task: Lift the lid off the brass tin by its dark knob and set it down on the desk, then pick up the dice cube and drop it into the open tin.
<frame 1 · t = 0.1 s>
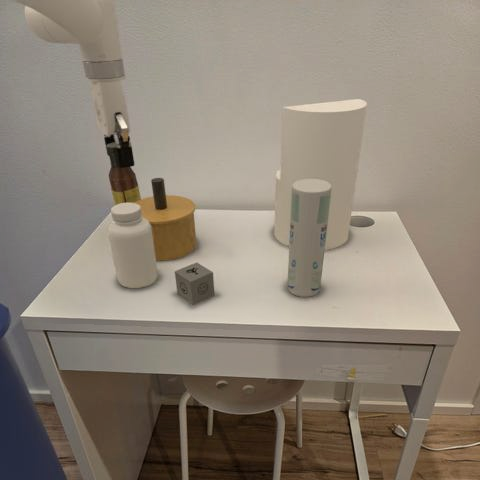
hand: (120, 160, 95), 17 cm above the table, tool pointing down, fingers open, 9 cm apart
dice cube: (195, 295, 82), on the table
cylinder: (310, 234, 103), on the table
spray can: (303, 289, 84), on the table
pill bottle: (138, 279, 87), on the table
tin lid: (161, 210, 94), point 8 cm above the table, touching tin
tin: (166, 245, 99), on the table
sauce bottle: (132, 229, 107), on the table, touching gripper
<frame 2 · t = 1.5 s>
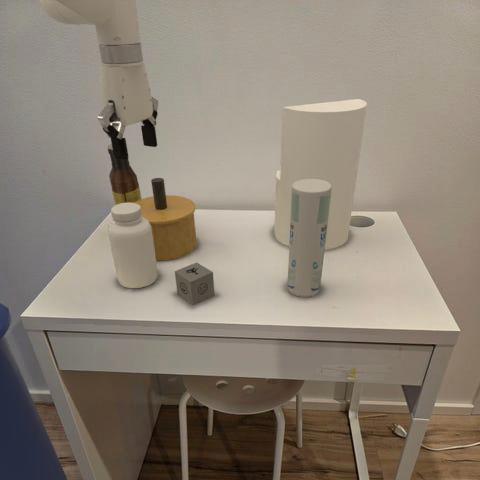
hand: (136, 152, 90), 20 cm above the table, tool pointing down, fingers open, 9 cm apart
sauce bottle: (132, 227, 107), on the table
everything else where it was.
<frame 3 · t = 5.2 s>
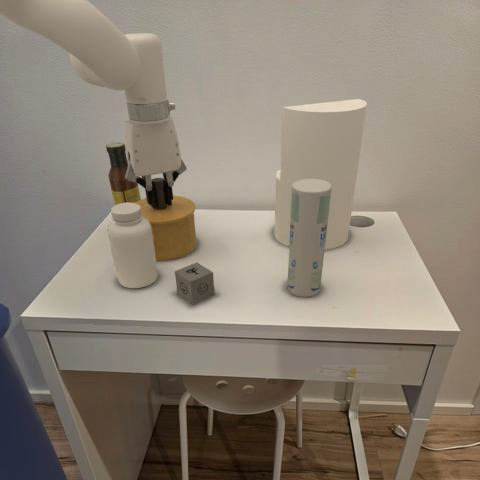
hand: (160, 204, 93), 10 cm above the table, tool pointing down, fingers closed on tin lid, 2 cm apart
tin lid: (161, 210, 94), point 9 cm above the table, touching gripper, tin
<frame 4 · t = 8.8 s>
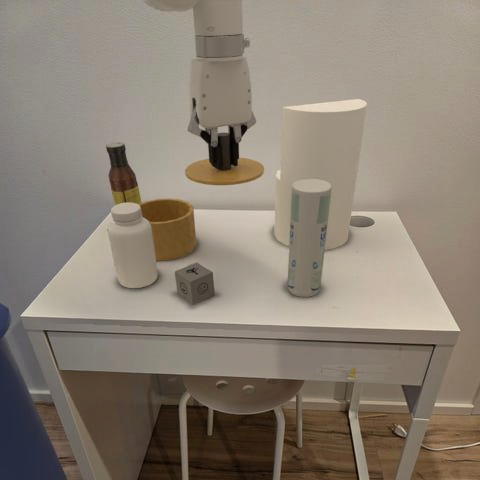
hand: (224, 164, 80), 20 cm above the table, tool pointing down, fingers closed on tin lid, 2 cm apart
tin lid: (224, 171, 81), point 19 cm above the table, touching gripper
when the fingers open (2 cm above the table, at t = 12.9 s): tin lid stays where it is, point 1 cm above the table.
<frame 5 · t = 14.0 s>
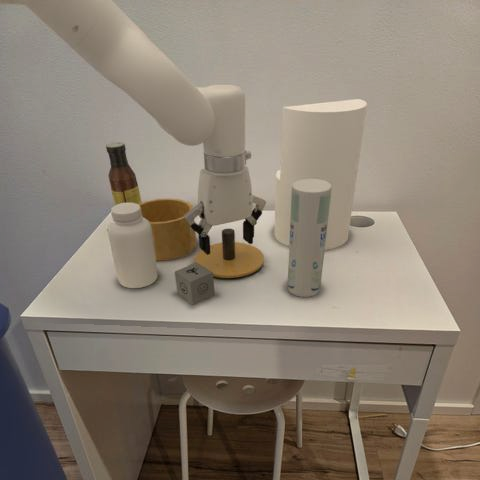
hand: (227, 246, 90), 4 cm above the table, tool pointing down, fingers open, 9 cm apart
tin lid: (229, 260, 92), point 1 cm above the table
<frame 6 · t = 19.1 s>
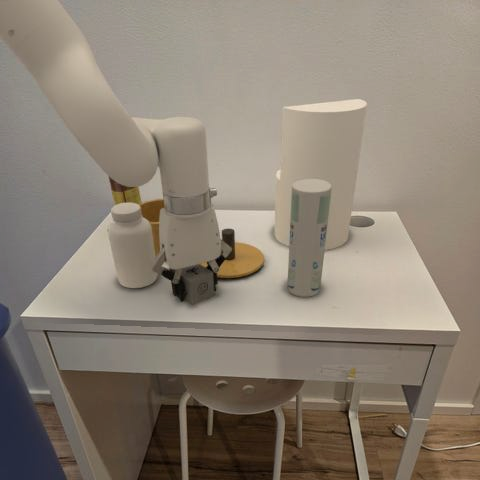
hand: (195, 292, 82), 1 cm above the table, tool pointing down, fingers closed on dice cube, 5 cm apart
dice cube: (196, 295, 82), on the table, touching gripper
when the fingers open (6 cm above the table, at t = 26.8 s): dice cube drops 5 cm, resting on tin.
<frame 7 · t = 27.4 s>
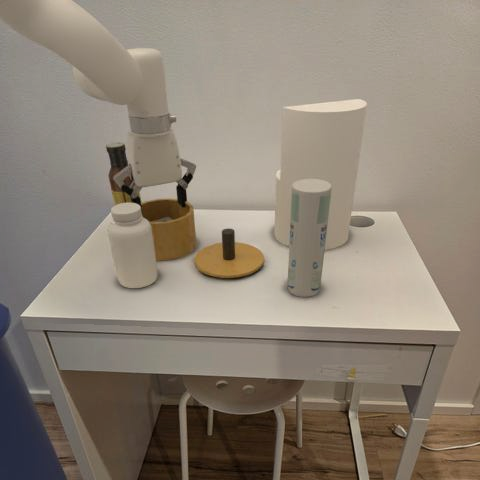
hand: (160, 209, 94), 9 cm above the table, tool pointing down, fingers open, 9 cm apart
dice cube: (166, 244, 99), resting on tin
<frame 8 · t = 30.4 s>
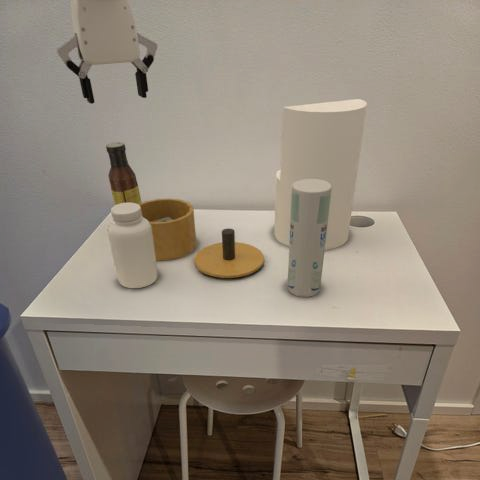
hand: (117, 99, 80), 30 cm above the table, tool pointing down, fingers open, 9 cm apart
at the end: tin lid inside the target area (0.0 cm from its centre), point 0.6 cm above the table; dice cube inside the target area in the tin (0.1 cm from its centre), point 0.3 cm above the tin's base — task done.
